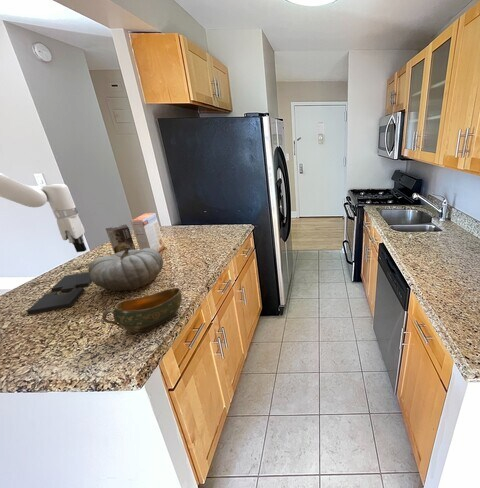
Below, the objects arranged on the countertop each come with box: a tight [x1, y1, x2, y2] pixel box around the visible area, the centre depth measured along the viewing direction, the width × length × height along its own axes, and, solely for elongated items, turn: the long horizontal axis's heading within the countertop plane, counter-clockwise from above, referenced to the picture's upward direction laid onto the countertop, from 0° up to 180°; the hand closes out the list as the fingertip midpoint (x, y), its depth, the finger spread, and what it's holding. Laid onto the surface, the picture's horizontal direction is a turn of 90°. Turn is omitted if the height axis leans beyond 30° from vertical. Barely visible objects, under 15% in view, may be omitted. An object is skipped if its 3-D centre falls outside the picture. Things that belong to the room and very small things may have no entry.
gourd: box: [87, 247, 164, 291], centre depth 109 cm, size 25×25×17 cm
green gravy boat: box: [101, 287, 182, 334], centre depth 87 cm, size 13×20×10 cm, turn 111°
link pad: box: [50, 271, 93, 294], centre depth 113 cm, size 12×14×2 cm
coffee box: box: [105, 224, 137, 254], centre depth 136 cm, size 9×6×16 cm
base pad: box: [26, 287, 85, 315], centre depth 100 cm, size 12×12×2 cm
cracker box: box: [130, 212, 166, 253], centre depth 139 cm, size 14×6×21 cm, turn 6°
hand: (81, 251), depth 120 cm, fingers closed
